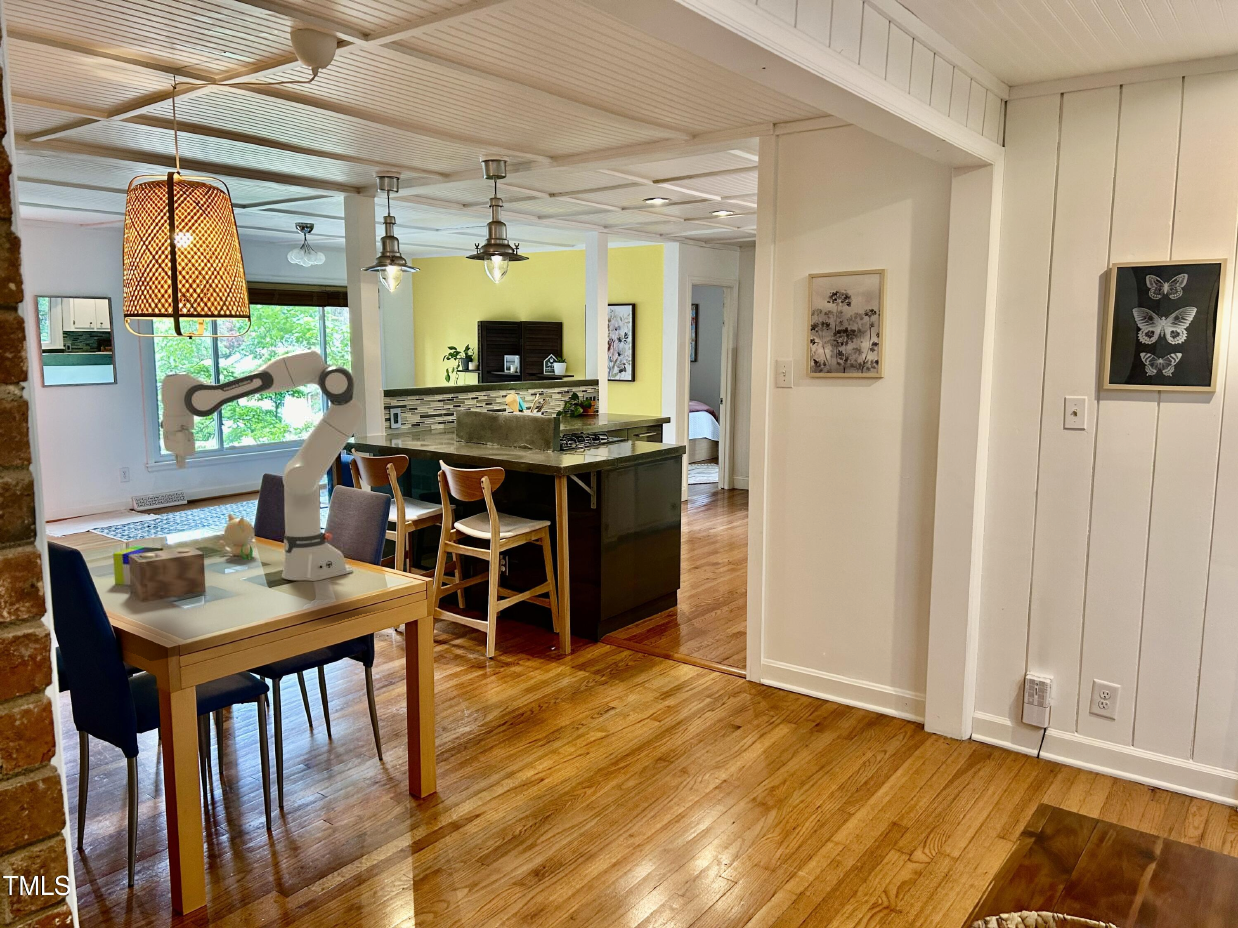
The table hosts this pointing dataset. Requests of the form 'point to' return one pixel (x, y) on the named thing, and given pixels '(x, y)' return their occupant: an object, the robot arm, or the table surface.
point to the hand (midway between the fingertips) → (180, 467)
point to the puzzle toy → (127, 563)
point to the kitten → (238, 537)
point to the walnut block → (167, 573)
